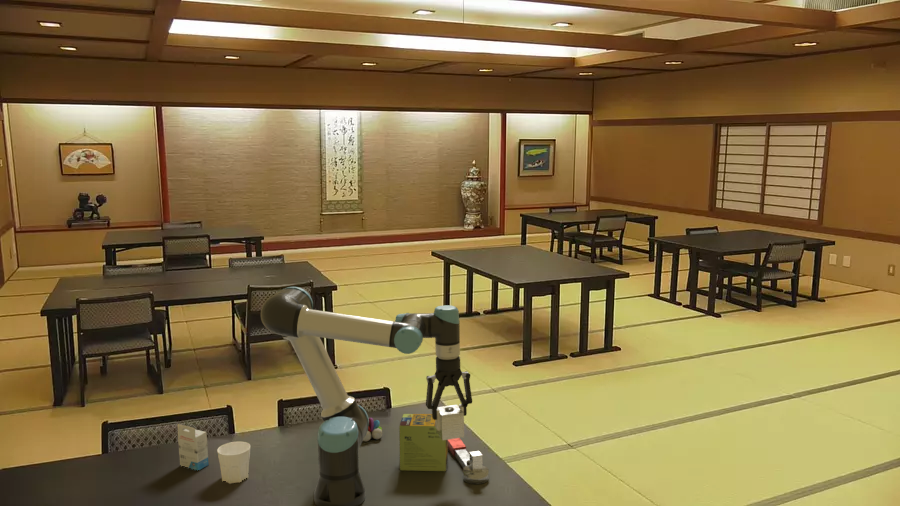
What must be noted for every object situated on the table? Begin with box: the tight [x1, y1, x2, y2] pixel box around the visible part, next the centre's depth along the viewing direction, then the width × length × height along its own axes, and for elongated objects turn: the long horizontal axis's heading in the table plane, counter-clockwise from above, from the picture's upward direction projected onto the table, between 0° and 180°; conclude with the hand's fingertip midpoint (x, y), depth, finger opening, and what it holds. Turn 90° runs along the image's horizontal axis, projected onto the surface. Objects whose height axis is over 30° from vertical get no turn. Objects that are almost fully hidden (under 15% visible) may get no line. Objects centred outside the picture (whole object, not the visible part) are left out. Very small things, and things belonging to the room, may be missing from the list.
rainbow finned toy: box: [362, 417, 383, 442], centre depth 249 cm, size 8×10×7 cm
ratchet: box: [448, 438, 490, 485], centre depth 228 cm, size 8×31×8 cm, turn 17°
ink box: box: [177, 423, 209, 472], centre depth 226 cm, size 8×5×15 cm, turn 62°
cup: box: [216, 441, 251, 485], centre depth 218 cm, size 10×10×10 cm
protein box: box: [398, 413, 449, 472], centre depth 227 cm, size 10×15×16 cm
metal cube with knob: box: [436, 404, 465, 440], centre depth 213 cm, size 7×7×8 cm
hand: (449, 427), depth 214 cm, fingers closed on metal cube with knob, 7 cm apart
